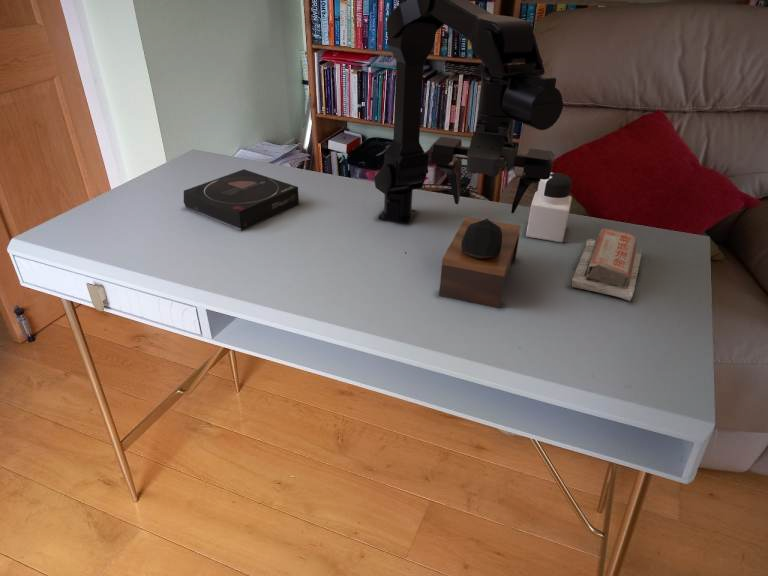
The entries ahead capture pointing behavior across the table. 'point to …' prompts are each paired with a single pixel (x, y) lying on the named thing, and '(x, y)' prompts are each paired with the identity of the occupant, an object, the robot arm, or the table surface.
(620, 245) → the packaged product
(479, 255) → the gaming mouse
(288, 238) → the table surface
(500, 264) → the walnut wood stand
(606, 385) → the table surface
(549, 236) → the medicine bottle
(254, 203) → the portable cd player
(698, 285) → the table surface
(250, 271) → the table surface
